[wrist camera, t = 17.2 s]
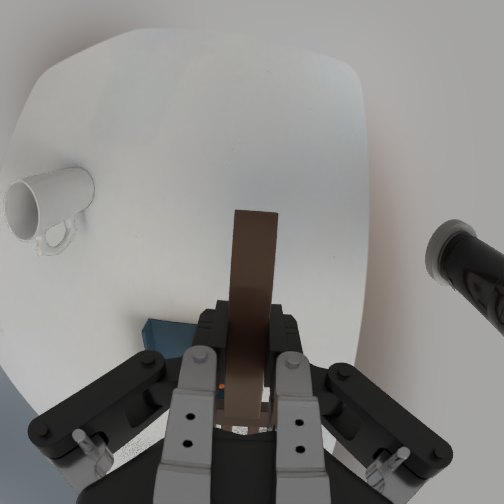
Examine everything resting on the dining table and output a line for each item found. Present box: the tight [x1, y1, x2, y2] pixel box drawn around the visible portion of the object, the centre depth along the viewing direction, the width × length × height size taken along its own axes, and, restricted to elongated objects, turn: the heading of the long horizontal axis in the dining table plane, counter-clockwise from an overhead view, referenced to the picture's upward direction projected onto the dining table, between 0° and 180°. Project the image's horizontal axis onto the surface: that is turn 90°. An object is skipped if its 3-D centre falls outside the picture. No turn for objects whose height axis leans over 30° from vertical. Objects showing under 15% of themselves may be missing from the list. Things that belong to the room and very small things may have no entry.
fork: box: [217, 210, 278, 435], centre depth 13 cm, size 16×5×2 cm, turn 176°
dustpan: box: [142, 319, 224, 400], centre depth 42 cm, size 24×17×3 cm
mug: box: [4, 167, 94, 256], centre depth 27 cm, size 10×7×12 cm, turn 7°
